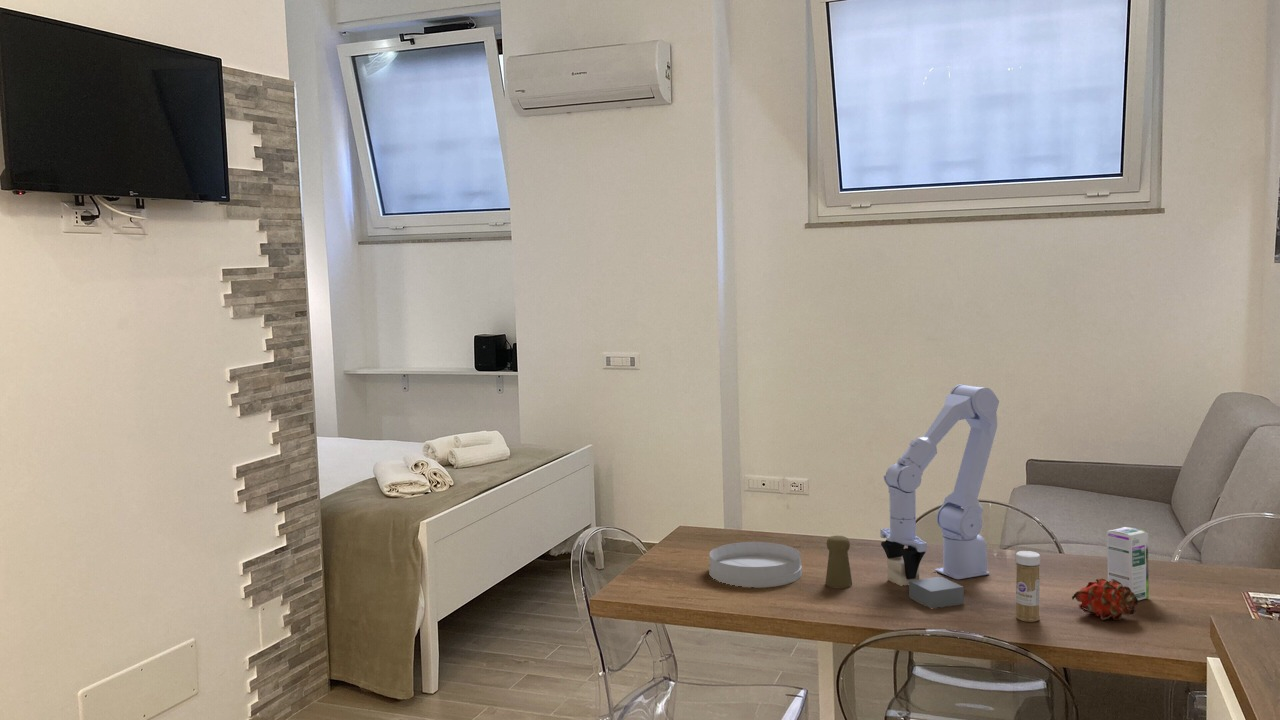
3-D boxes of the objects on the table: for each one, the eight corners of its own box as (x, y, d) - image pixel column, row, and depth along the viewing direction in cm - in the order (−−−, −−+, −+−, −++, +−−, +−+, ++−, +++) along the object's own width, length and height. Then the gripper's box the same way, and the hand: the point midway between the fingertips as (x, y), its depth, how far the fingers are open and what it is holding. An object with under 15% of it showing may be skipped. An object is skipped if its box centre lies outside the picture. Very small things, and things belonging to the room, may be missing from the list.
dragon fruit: (1143, 631, 186) (1077, 631, 192) (1141, 596, 192) (1076, 596, 198) (1136, 604, 182) (1068, 605, 188) (1134, 569, 188) (1068, 570, 194)
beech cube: (905, 577, 220) (905, 555, 220) (919, 582, 216) (919, 561, 215) (887, 580, 219) (887, 558, 218) (901, 586, 214) (900, 564, 214)
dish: (821, 576, 224) (821, 555, 224) (750, 595, 212) (750, 573, 211) (759, 556, 242) (758, 536, 242) (690, 572, 230) (689, 552, 230)
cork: (852, 588, 213) (851, 540, 212) (825, 587, 214) (824, 539, 214) (852, 580, 219) (851, 533, 218) (825, 579, 220) (824, 532, 219)
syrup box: (1131, 603, 198) (1132, 535, 197) (1106, 595, 203) (1106, 529, 202) (1149, 598, 200) (1149, 531, 199) (1123, 591, 206) (1124, 525, 205)
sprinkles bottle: (1012, 619, 191) (1012, 554, 190) (1020, 613, 194) (1020, 548, 193) (1036, 624, 188) (1035, 557, 187) (1043, 617, 191) (1043, 552, 190)
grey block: (940, 594, 208) (940, 576, 208) (963, 605, 201) (963, 586, 201) (909, 598, 206) (909, 580, 206) (931, 610, 198) (931, 591, 198)
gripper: (869, 512, 221) (869, 569, 222) (908, 525, 208) (908, 586, 209) (894, 508, 224) (895, 565, 225) (934, 522, 210) (934, 582, 211)
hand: (903, 575), depth 217 cm, fingers closed on beech cube, 5 cm apart
